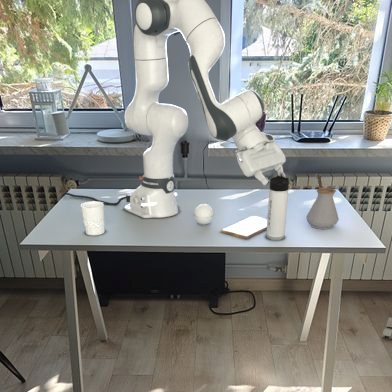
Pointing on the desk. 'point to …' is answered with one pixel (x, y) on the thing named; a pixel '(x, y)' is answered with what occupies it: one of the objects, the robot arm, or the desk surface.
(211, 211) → the seamed sphere
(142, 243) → the desk surface
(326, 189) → the coffee pot
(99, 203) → the white cup
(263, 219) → the white flat rectangular slab
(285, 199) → the travel mug
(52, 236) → the desk surface
